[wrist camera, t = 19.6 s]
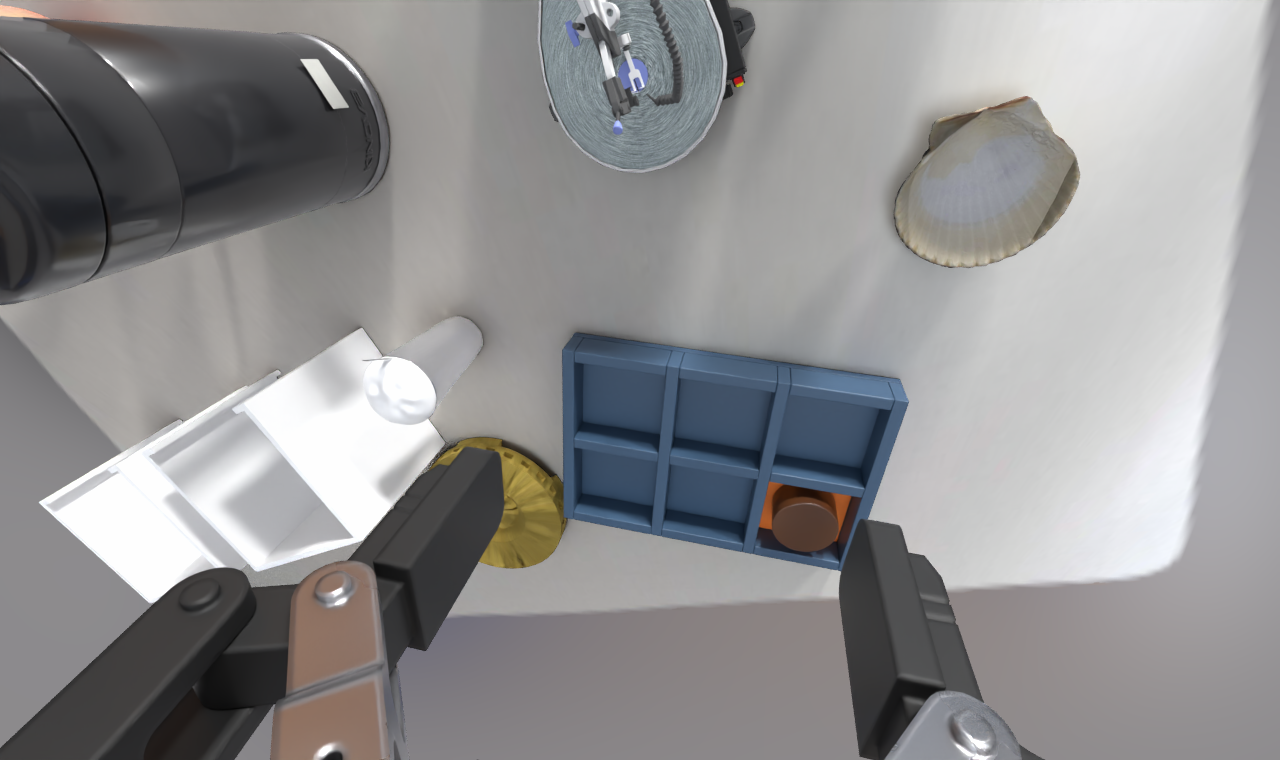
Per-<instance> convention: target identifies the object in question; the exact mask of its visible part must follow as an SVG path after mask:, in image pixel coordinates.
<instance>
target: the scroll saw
mask: <svg viewBox="0 0 1280 760" xmlns="http://www.w3.org/2000/svg"><path fill="white" fill-rule="evenodd" d="M740 22H741V23H740ZM754 30H755V23H754V19H753V16H752V14H751V12H749V11H747V10H744V9H740V8H729V4H728V1H727V0H539V8H538V37H537V41H538V48H539V55H540V62H541V69H542V76H543V80H544V83H545V87H546V90H547V93H548V96H549V99H550V102H551V103H550V106H549V108H550V111H551V113H552V116H553V118H554V120H555V121H557V122H560V124H561V126H562V128H563V130H564V132H565V134H566V135H567V136H568V137H569V138H570V140H571V141H572V142H573V143H574V144H575V145H576V146H577V147H578V148H579V150H580V151H581V152H582V153H584V154H585V155H587V156H588V157H590V158H591V159H593V160H594V161H596V162H597V163H599V164H600V165H603V166H606V167H609V168H612V169H615V170H618V171H621V172H635V173H645V172H650V171H654V170H658V169H662V168H666V167H668V166H669V165H671V164H673V163H675V162H676V161H678V160H680V159H682V158H683V157H685V156H686V155H687V154H688V153H689V152H690V151H692V150H693V149H694V148H695V147H696V146H697V145H698V144H699V143H700V142H701V141H702V140H703V139H704V137H705V136H706V134H707V132H708V131H709V129H710V127H711V126H712V124H713V122H714V121H715V119H716V117H717V115H718V112H719V109H720V106H721V103H722V100H724V99H726V98H728V97H730V96H732V95H733V92H732V89H731V85H730V84H729V85H726V80H729V79H730V80H732V82H733V84H734V87H736V86H737V87H740V86H742V85H743V82H744V83H745V81H744V77H743V74H745V72H747V69H746V68H745V67H746V66H745V62H744V58H743V55H742V51H741V48H742V47H743V46H744V45H745V44H746V43H747V41H748V40H749V39H750V37H751V36H752V34H753V32H754ZM735 85H736V86H735Z"/></svg>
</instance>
